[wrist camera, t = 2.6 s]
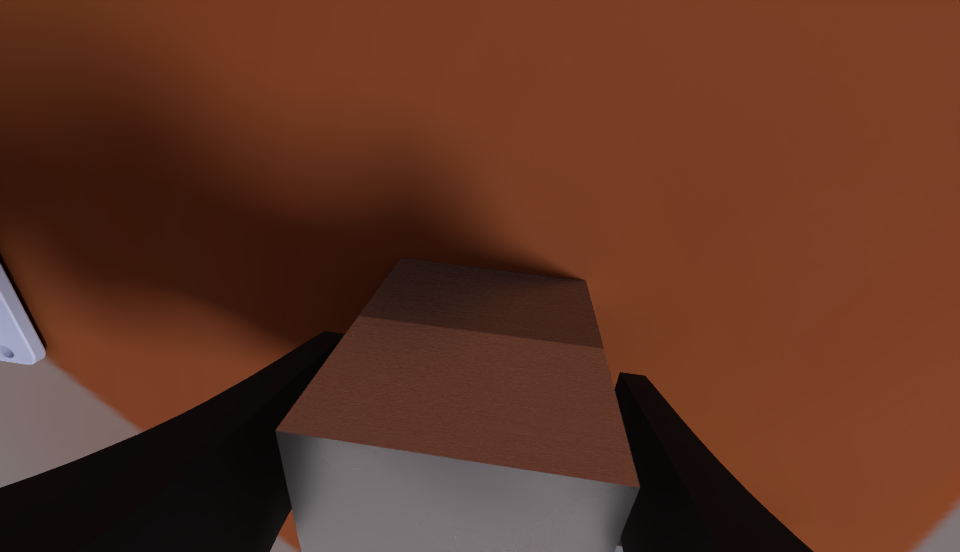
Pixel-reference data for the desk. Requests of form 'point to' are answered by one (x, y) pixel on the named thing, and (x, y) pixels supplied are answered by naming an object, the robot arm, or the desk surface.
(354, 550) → the block
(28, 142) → the desk surface
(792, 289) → the desk surface
